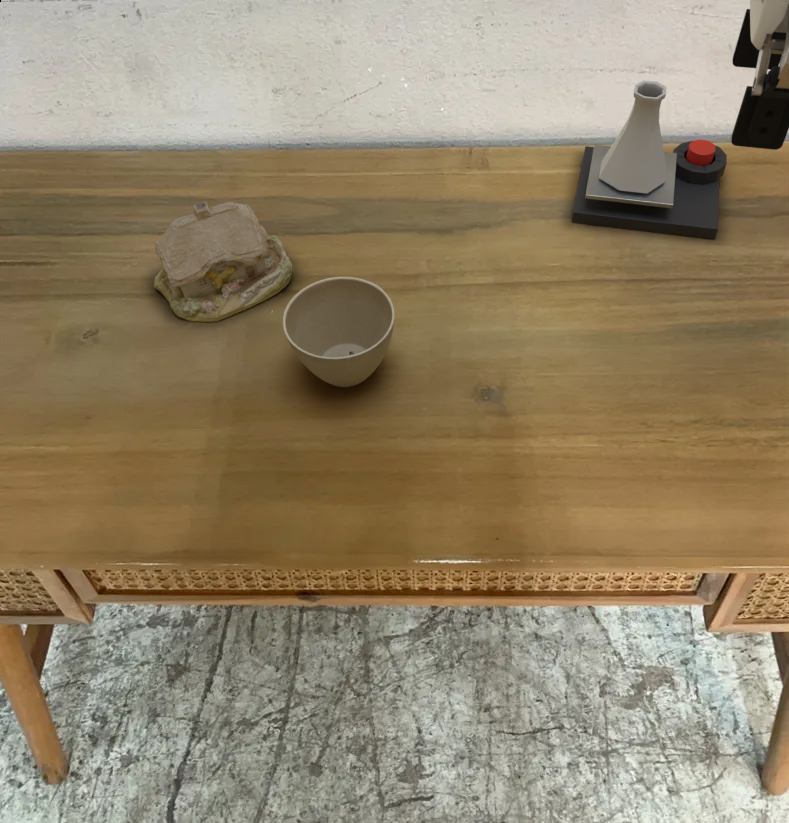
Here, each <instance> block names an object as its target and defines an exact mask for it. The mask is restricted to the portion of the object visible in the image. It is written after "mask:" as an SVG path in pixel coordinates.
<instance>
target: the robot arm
mask: <svg viewBox="0 0 789 823" xmlns="http://www.w3.org/2000/svg"><path fill="white" fill-rule="evenodd" d="M735 44H736V45H735V47H734V52H733V55H732V65H733V66H734V67H736V68H746V69H755V72H754V77H753V82H752V86H751V85H746V88H745V91H744V94H743V97H742V100H741V104H740V108H739V111H738V114H737V116H736V120H735V123H734V127H733V129H732V133H731V138H730V139H731V140H730V141H731V145H733V146H734V147H743V148H744V147H745V148H753V149H754V148H755V149H763V150H773V151H774V150H775V151H776V150H780V149H781V148H783V145H784V144H785V140H786V138H787V134H788V132H789V0H749V8H746V10H745V12H744V17H743V20H742V24H741V27H740V31H739V34H738V38H737V40H736V43H735Z"/></svg>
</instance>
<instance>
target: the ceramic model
mask: <svg viewBox="0 0 789 823" xmlns="http://www.w3.org/2000/svg"><path fill="white" fill-rule="evenodd" d="M192 208H193V211H194V212H193V213H192V214H188V215H184V216H180V217H178V218H176V219H174V220H173V221H171V222H170V224H169V227H168V228H167V229H166V230H165V231H164V233H163V234H162V235H161V237H160V238H159V239H158V240H155V241H154V242H155V243H154V244H153V248H154V251H155V254H156V256H157V257H158V258H159V260H160V262H161V265H162V266H163V268H162V269H160V271H159V272H157V274H156V276H155V277H154V283H153V287H154V289H155V290H157V291H159V292H160V293H161V294H162V295H163V297H164V298H165V299H166V300H167V302H168V303H169V306H170V309H171V310H172V312H173V313H174V314H175V315H176V316H177V317H178V318H181V319H182V320H186V321H189V322H198V323H200V322H202V323H205V322H206V323H212V322H219V321H222V320H224V319H226V318H229V317H231V316H233V315H236V314H238V313H241V312H244V311H245V310H248V309H250V308H252V307H254V306H256V305H258V304H260V303H262V302H265V301H266V300H268V299H270V298H272V297H274V296H275V295H277V294H278V293H281V291H282V290H283V289H285V288H286V287H287V285H289V283H290V281H291V279H292V274H293V273H292V272H293V263H292V261H291V260H290V259H291V257H289V256H288V255H287V253H286V250H285V246H284V244H283V242H282V241H281V240H280V239H279V238H278V237H277V235H275V234H274V235H270V236H269V235H268V232H267V231H266V229H265V227H264V226H262V225H261V224H260V222H259V220H258V217H257V215H256V213H255V212H254V210H253V209H252V207H251V206H249V204H246V203H245V204H242V203H238V202H235V201H233V200H232V201H227V202H223V203H221V204H218V205H214V206H212V207H209V205H208V202H207V201H204V200H203V201H201V202H200V203H198V204H193V205H192Z"/></svg>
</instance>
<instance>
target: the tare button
mask: <svg viewBox="0 0 789 823" xmlns="http://www.w3.org/2000/svg"><path fill="white" fill-rule="evenodd" d="M691 141H692V142H691V143H690V145H689V148H688V152H687V155H686V160H687V161H688V162H690V163H692V164H694V165H700V166H706V165H709V164H710V163H711V162H712V160H713V157H714V153H715V150H716V147H715V145H716V144H714V143H713V142H711V141H710V140H706V139H694V140H691Z"/></svg>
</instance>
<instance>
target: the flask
mask: <svg viewBox="0 0 789 823" xmlns="http://www.w3.org/2000/svg"><path fill="white" fill-rule="evenodd" d="M667 89H668V88H667V86H666V85H664V84H662V83H660V82H658V81H653V80H641V81H640V82H638V83H636V84H635V85H634V88H633V98H634V103H633V106H632V109H631V110H630V113H629V116H628V118H627V120H626V121H625V123H624V125H623V127H622V129H621V130H620V131H619V134H618V135H617V137H616V139H615V140H614V142H613V143H612V144H611V145H610V146H611V148H610V149H609V151H608V152H607V154H606V155H605V157H604V159H603V160H602V162H601V168H600V174H599V178H600V179H601V180H603V181H605V182H606V183H608V184H610V185H611V186H613V187H615V188H616V189H618V190H620V191H629V192H638V193H649V192H650V191H652V190H653V189H655V188H656V187H658V186H659V185H661V184H663V183H664V182H665V177H666V160H665V154H664V152H665V149H664V145H663V139H662V133H661V125H660V110H661V104H662V101H663V100H664V99H665V98H666V96H667Z"/></svg>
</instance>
